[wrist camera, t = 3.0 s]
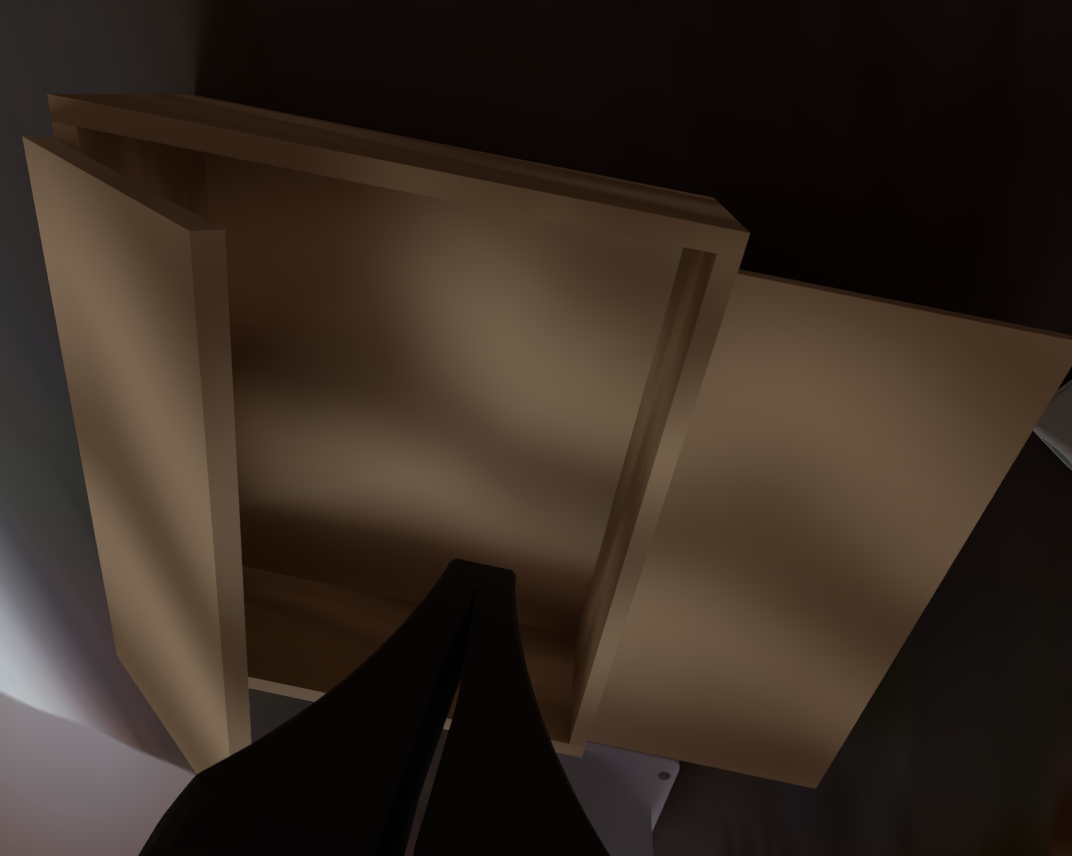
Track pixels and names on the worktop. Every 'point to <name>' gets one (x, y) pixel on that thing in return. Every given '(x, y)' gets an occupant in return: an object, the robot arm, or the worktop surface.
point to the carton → (576, 428)
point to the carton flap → (153, 435)
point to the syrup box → (1058, 424)
